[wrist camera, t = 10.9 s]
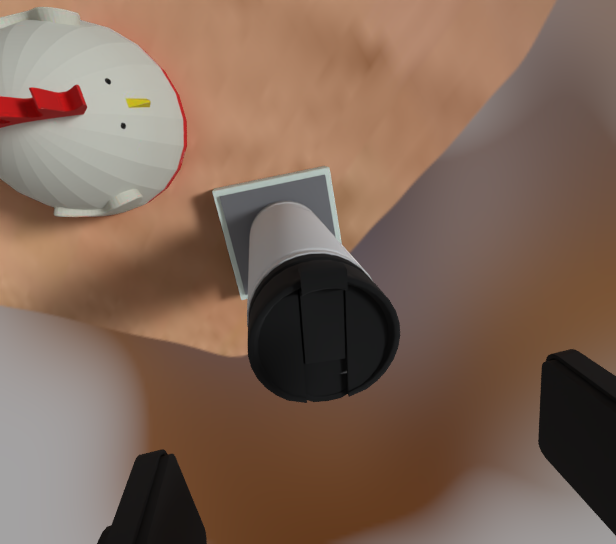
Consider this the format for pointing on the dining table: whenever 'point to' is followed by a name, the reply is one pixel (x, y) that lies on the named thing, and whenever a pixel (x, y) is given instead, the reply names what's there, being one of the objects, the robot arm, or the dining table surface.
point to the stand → (258, 194)
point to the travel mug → (313, 310)
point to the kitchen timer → (84, 116)
